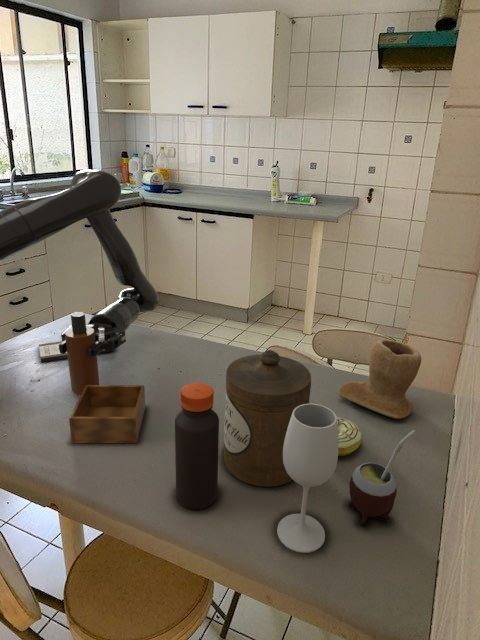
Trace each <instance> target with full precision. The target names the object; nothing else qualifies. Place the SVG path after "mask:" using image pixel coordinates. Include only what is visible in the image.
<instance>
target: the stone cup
mask: <svg viewBox="0 0 480 640" xmlns="http://www.w3.org/2000/svg"><path fill="white" fill-rule="evenodd" d="M368 360H369V362H368V364H369V365H368V373H369V374H368V380H367V381H362V380H353V381H348V382H346V383H344V384H343V385H342V386H341V387H340V388H338V390H337V395H338V396H339V397H341V398H344V399H346V400H348V401H349V402H352V403H354V404H357V405H359V406H361V407H363V408H365V409H367V410H371V411H373V412H375V413H378V414H380V415H383V416H386V417H388V418H390V419H391V418H392V419H395V420H401V419H402V420H403V419H404V418H406V417H409V415H410V414H411V413H412V412H413V409H414V408H413V403H412V402H411V401H410V400H408V399H407V397H406V393H407V391H408V389H410V386H411V385H412V383H413V382H414V380H415V379H416V377H417V375H418V372H419V370H420V368H421V365H422V356H421V353H420V352H419V350H417V349H416V348H415V347H413V346H411V345H409V344H406V343H403V342H400V341H398V340H397V341H396V340H392V339H379V340H377V341H376V342H375V343H374V345H373V346H372V348H371V351H370V355H369V359H368Z"/></svg>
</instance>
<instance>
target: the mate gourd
mask: <svg viewBox="0 0 480 640" xmlns="http://www.w3.org/2000/svg"><path fill="white" fill-rule="evenodd" d="M416 432H417V431H416V430H415V429H412V430H411V431H410V432H408V434H407V435H405V436H404V437H403V438H402V439H401V440H400V441H399V442H398V443H397V444H396V445H395V447H394V451H393V453H392V455H391V456H390V459H389V461H388V463H387V465H386V466H384V465H382V464H380V463H377V462H363V463H362V464H360V465H358V466H357V467H356V468H355V469H354V471H353V472H352V476H350V479H349V483H348V484H349V485H348V487H349V496H350V501H349V503H348V507H349V508H351V509H354V510H356V511H357V512H360V513H361V514H362V515H361V516H362V517H361V520H360V521H359V525H360V526H362V527H365V526H366V525H367V523H368V520H369V518H370V517H371V518H374V519H376V520H379V521H381V522H383V523H386V524H387V523H388V522H389V517H388V516H389V515H390V514H391V512H392V510H393V508H394V505H395V500H396V497H397V490H398V489H397V482H396V479H395V478H396V477H395V476H394V475H393V473H392V472H391V470H390V469H391V468H392V466H393V463H394V462H395V459H396V458H397V456H398V454H399V453H400V452H401V450H402V449H403V447H402V446H403V445H404V444H405V443H406V442H407V441H408V440H409V439H410V438H411V437H412V436H413V435H414V434H415V433H416Z"/></svg>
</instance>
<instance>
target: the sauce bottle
mask: <svg viewBox="0 0 480 640" xmlns="http://www.w3.org/2000/svg"><path fill="white" fill-rule="evenodd" d="M70 320H71V321H70V322H71V325H72V328H70V329H68V330H67V331H66V332H65V339H66V348H67V356H68V358H67V364H68V372H69V380H70V388H71V392H72V393H73V394H74V395H77V396H80V395H81V393H82V391H83V389H84V387H85V385H100V375H99V364H98V355H96V356H94V357H93V358H90V357H89V356H88V348H89V347H91V346H92V345H93V344H94V343H95V332H94V329H93V328H91V327H87V326H86V325H87V322H86V314H85V312H83V311H75V312H72V313H70Z"/></svg>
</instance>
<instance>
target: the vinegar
mask: <svg viewBox="0 0 480 640" xmlns="http://www.w3.org/2000/svg"><path fill="white" fill-rule="evenodd" d="M214 393H215V391H214V388H213V387H212V386H211V385H209V384H207V383H204V382H190V383H187V384H185V385H184V386H183V387H181V389H180V407H181V409H180V411H179V412H178V413H177V414H176V416H175V419H174V448H175V449H174V451H175V452H174V455H175V458H174V461H175V496H176V500H177V502H178V503H179V504H180V505H181V506H182V507H184V508H186V509H189V510H202V509H203V510H204V509H206V508H208V507H210V506H212V505H213V503H215V501H216V499H217V497H218V484H219V483H218V481H219V480H218V479H219V446H220V445H219V444H220V443H219V442H220V439H219V438H220V437H219V436H220V418H219V416H218V413H217V412H216V411H214V409H213V407H214V400H215V399H214V398H215V397H214Z"/></svg>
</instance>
